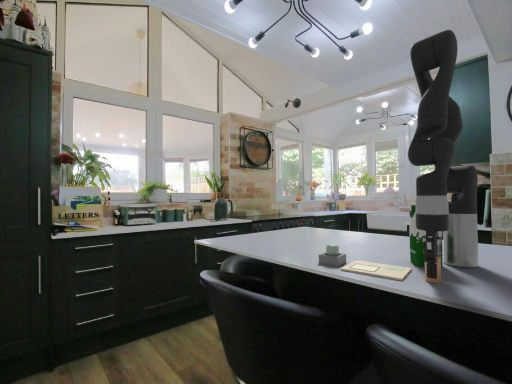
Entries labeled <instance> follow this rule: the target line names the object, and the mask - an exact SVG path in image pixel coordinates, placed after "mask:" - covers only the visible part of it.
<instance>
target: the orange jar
mask: <svg viewBox="0 0 512 384" xmlns="http://www.w3.org/2000/svg"><path fill="white" fill-rule="evenodd" d="M428 258H433V256H432V255H428ZM437 261H438V263H437V278H436V279H433V278H428V277H427V263H426V262H425V267H424V278H425V279H424V280H425V282H427V283H432V284H441V283H442V267H441V251H440V253H439V255H438V256H437Z"/></svg>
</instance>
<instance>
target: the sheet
mask: <svg viewBox="0 0 512 384" xmlns="http://www.w3.org/2000/svg"><path fill="white" fill-rule="evenodd" d="M412 269H413V268H411V267H407V266H401V265H400V266H398V265H394V264H384V263H377V262H371V261H365V260H364V261H363V260H359V259H358V260H354V261H353V262H351V263H348V264H347V265H344V266H343V267H341V268H340V271H342V272H348V273H349V272H350V273H355V274H360V275H365V276H372V277H378V278H382V279H383V278H384V279H388V280H393V281H394V280H395V281H401V282H403V280H405V278H407V276H408V275H409V274H410V273H411V271H413V270H412ZM409 272H410V273H409ZM408 273H409V274H408Z"/></svg>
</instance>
